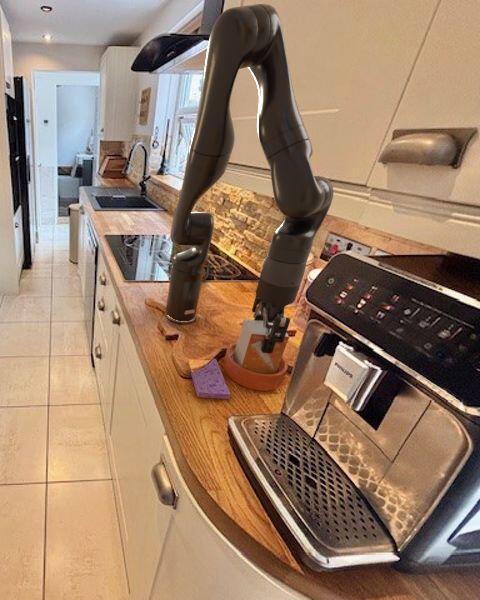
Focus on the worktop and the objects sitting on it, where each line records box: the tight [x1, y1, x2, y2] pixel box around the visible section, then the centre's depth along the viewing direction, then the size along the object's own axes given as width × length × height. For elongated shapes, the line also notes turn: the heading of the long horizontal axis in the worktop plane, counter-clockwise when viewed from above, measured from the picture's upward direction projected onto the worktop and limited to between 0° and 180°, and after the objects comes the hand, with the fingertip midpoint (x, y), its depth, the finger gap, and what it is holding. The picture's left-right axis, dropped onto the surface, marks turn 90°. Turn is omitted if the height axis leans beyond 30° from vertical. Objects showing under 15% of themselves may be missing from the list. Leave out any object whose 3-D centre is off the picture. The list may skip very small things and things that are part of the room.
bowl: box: [222, 341, 289, 392], centre depth 79 cm, size 13×13×5 cm
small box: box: [233, 319, 290, 375], centre depth 77 cm, size 8×6×13 cm
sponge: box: [189, 358, 231, 400], centre depth 78 cm, size 7×13×2 cm, turn 174°
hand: (260, 341), depth 76 cm, fingers open, 7 cm apart
